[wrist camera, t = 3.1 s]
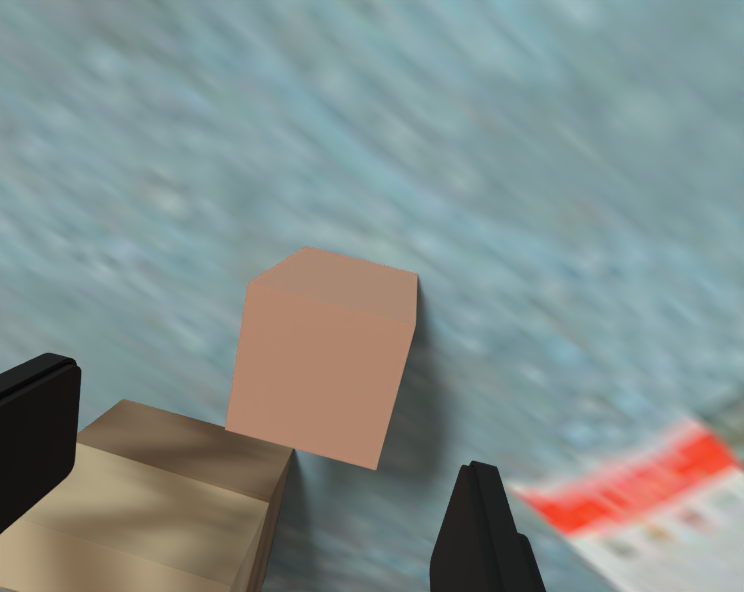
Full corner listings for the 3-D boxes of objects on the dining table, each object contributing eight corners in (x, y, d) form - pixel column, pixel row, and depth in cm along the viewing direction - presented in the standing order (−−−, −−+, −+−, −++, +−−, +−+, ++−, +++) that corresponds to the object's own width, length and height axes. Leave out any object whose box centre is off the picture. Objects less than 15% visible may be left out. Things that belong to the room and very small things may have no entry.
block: (417, 273, 20) (415, 325, 13) (390, 375, 21) (375, 470, 14) (306, 245, 20) (248, 282, 13) (287, 348, 21) (224, 429, 14)
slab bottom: (295, 443, 23) (270, 498, 19) (265, 578, 25) (237, 650, 21) (126, 396, 23) (67, 440, 19) (113, 534, 26) (58, 597, 22)
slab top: (269, 503, 19) (231, 586, 15) (230, 652, 22) (188, 756, 18) (67, 439, 19) (-20, 506, 15) (52, 595, 22) (-27, 685, 18)
